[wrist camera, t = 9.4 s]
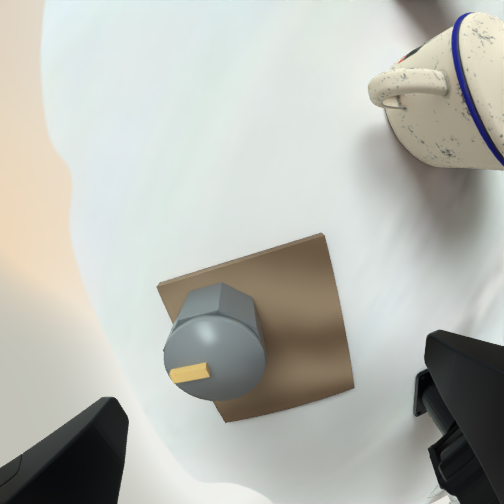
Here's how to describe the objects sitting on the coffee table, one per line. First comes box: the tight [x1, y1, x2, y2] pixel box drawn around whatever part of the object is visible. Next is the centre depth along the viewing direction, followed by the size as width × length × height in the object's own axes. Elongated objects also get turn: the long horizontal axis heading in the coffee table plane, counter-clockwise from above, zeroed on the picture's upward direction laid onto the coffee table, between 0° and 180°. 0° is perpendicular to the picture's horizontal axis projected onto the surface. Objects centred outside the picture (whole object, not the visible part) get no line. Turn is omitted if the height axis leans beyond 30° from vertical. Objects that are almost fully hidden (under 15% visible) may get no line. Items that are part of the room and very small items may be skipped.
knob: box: [163, 282, 267, 401], centre depth 16 cm, size 5×5×5 cm
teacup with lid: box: [368, 12, 504, 170], centre depth 10 cm, size 12×9×12 cm
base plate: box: [157, 233, 354, 423], centre depth 18 cm, size 13×11×4 cm
